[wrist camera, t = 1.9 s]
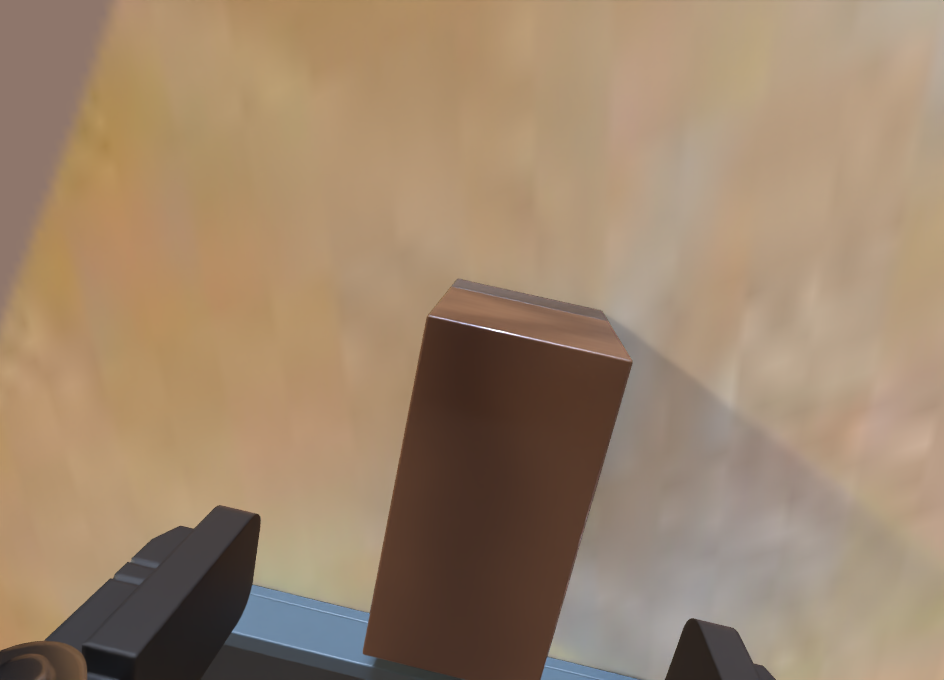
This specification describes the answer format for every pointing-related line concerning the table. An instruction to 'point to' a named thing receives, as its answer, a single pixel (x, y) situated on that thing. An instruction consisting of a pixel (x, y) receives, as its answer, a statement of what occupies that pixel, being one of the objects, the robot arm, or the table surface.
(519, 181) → the table surface
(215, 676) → the tray
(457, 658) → the brown long rectangular block
